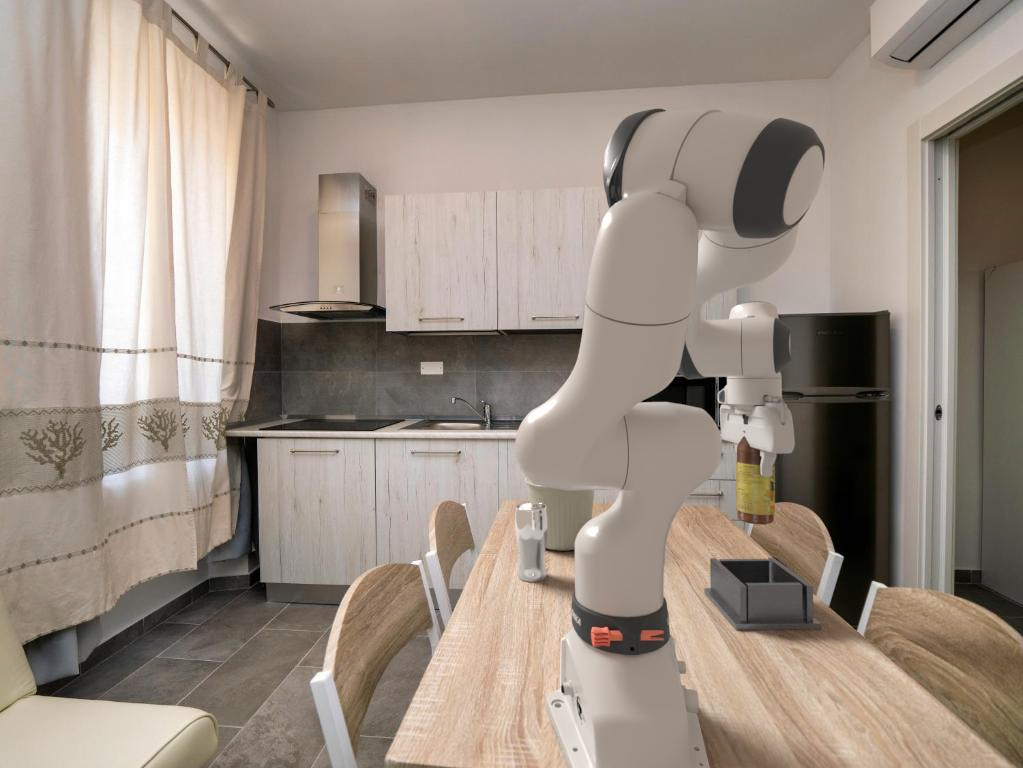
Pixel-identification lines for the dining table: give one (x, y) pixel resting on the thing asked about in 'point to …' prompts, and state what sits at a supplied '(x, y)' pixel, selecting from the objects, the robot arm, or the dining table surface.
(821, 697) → the dining table surface
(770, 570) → the square socket
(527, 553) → the beer glass
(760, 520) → the sauce bottle
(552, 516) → the canister
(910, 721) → the dining table surface
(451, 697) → the dining table surface
